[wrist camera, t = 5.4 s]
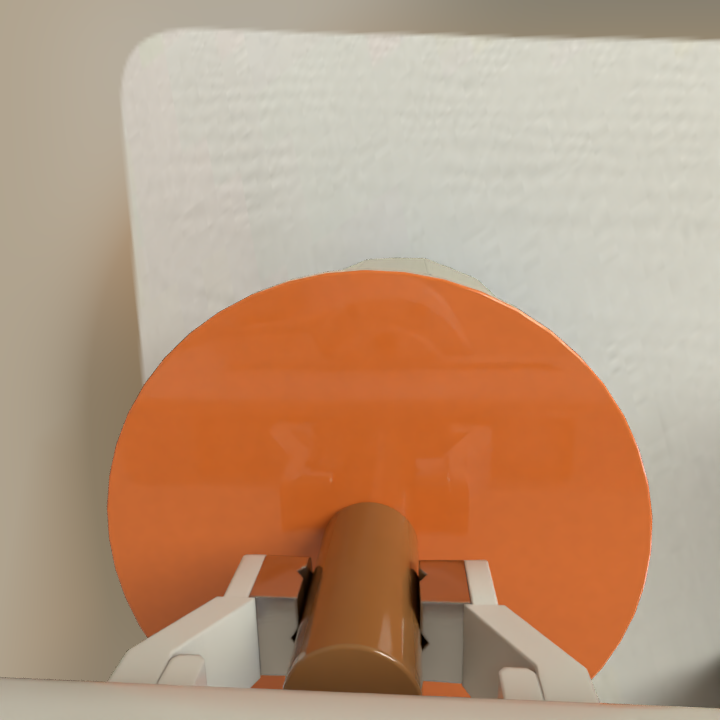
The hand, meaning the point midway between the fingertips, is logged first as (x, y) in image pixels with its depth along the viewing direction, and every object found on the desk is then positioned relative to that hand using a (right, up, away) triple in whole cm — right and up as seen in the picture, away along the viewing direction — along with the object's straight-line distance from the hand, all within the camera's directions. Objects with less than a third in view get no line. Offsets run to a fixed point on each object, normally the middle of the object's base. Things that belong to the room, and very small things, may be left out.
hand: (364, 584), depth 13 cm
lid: (0, 0, +2) cm, 2 cm away
